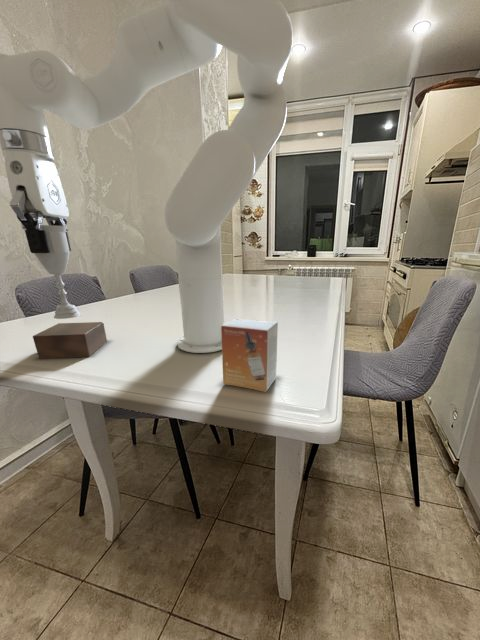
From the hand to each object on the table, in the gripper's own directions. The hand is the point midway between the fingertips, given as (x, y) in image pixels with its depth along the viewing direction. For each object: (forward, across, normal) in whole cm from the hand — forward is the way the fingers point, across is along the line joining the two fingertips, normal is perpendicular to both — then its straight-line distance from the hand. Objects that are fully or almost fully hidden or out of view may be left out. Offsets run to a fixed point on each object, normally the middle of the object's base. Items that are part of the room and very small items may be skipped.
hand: (52, 251), depth 58 cm
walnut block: (+21, 0, 0) cm, 21 cm away
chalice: (+13, 0, 0) cm, 13 cm away
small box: (+21, -21, -38) cm, 48 cm away
